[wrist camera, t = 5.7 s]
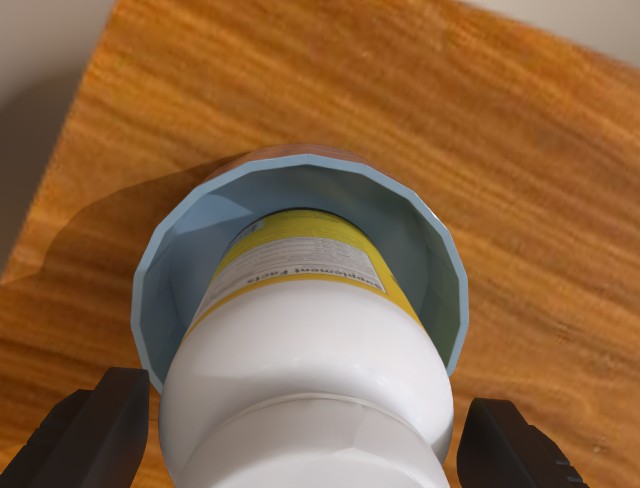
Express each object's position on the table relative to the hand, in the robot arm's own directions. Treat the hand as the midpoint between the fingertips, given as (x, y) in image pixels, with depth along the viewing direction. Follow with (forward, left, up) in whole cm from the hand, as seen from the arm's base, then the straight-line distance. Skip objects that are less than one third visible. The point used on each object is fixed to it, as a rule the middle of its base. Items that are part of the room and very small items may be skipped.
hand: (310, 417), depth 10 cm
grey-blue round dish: (0, 0, -8) cm, 8 cm away
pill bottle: (0, 0, -8) cm, 8 cm away
